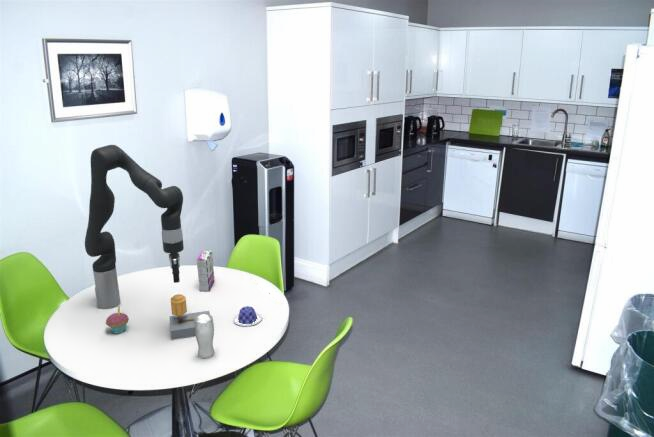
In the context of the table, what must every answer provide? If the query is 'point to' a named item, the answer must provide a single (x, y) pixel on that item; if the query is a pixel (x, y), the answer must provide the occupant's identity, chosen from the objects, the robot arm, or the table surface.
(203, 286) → the candy bar box
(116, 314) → the cupcake
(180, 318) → the wooden post
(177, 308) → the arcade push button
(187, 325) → the box
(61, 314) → the table surface
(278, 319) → the table surface
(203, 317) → the beer glass
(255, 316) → the pudding
